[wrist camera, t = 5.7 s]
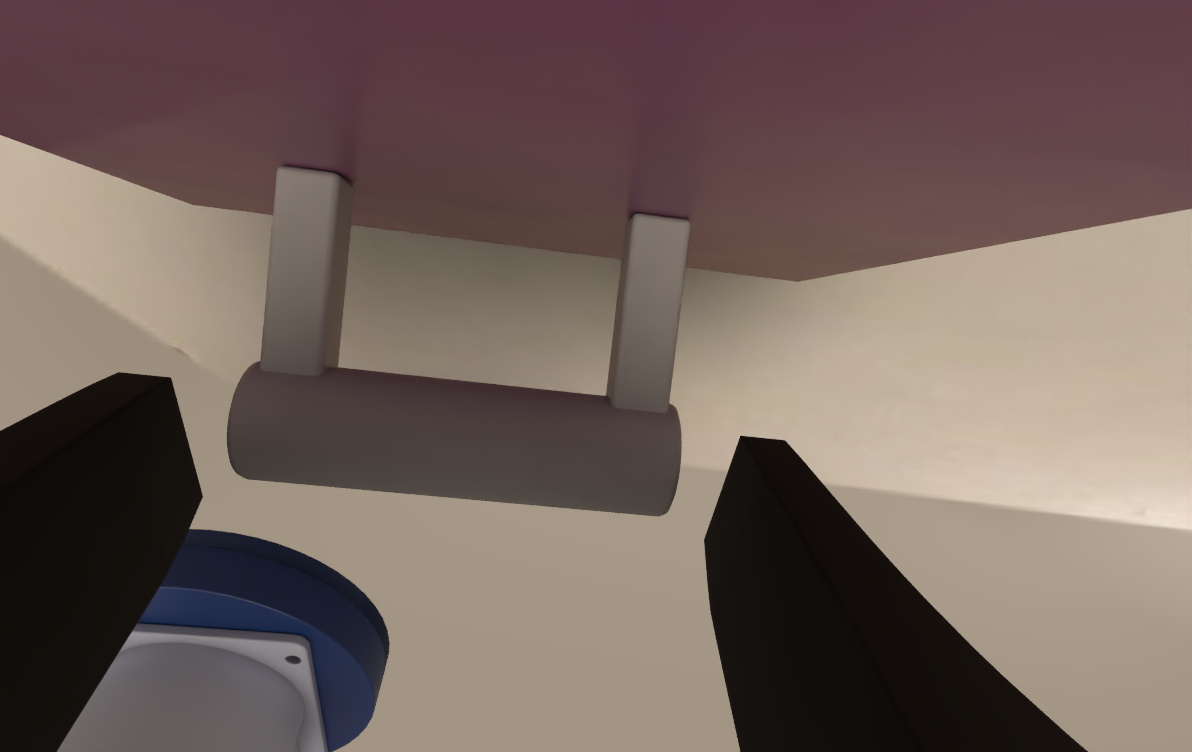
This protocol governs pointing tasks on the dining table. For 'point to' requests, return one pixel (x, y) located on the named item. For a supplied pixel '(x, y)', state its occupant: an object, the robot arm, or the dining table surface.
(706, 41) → the lid
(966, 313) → the dining table surface
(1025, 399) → the dining table surface
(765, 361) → the dining table surface
